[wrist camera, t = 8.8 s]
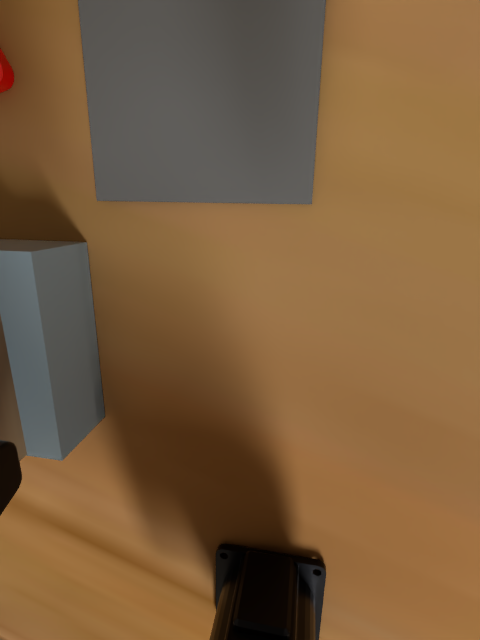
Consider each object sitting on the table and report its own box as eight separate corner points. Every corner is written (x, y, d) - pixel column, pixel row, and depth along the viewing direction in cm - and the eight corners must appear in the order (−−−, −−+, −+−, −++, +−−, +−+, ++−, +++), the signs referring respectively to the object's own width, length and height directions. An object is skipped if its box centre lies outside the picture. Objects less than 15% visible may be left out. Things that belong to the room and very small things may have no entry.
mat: (311, 204, 16) (311, 204, 16) (101, 200, 18) (96, 200, 18) (331, -88, 13) (332, -97, 13) (77, -60, 15) (71, -67, 15)
